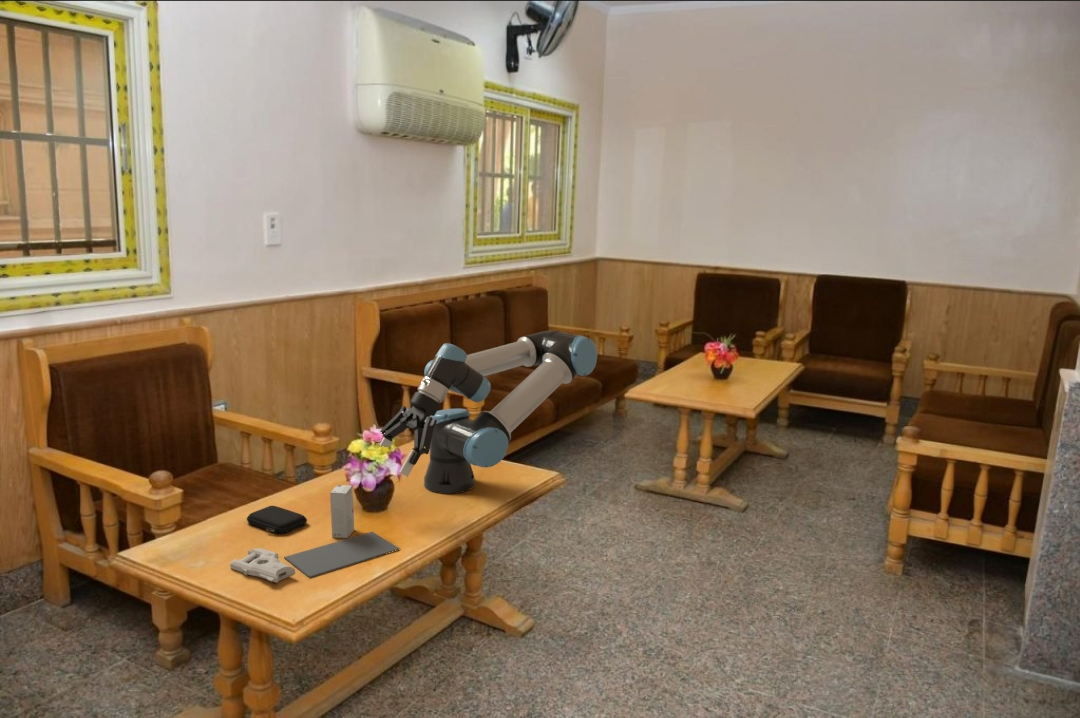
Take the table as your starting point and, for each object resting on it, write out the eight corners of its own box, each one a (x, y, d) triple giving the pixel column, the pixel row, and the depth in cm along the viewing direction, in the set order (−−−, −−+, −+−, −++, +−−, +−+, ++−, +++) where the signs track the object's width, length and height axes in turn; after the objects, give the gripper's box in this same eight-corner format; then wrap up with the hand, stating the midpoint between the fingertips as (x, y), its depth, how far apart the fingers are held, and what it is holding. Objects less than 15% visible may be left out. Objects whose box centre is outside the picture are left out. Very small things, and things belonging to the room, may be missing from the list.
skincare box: (348, 538, 212) (347, 493, 210) (330, 537, 213) (329, 492, 210) (355, 529, 218) (354, 485, 216) (338, 528, 219) (336, 484, 216)
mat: (372, 532, 216) (372, 531, 216) (399, 549, 207) (399, 548, 207) (284, 558, 200) (284, 556, 200) (309, 578, 191) (309, 576, 191)
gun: (307, 558, 193) (272, 575, 185) (308, 572, 194) (273, 589, 186) (256, 542, 203) (220, 557, 195) (257, 555, 204) (222, 571, 196)
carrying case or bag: (240, 525, 219) (278, 539, 212) (239, 514, 219) (278, 528, 211) (272, 513, 228) (310, 525, 221) (272, 502, 228) (310, 514, 220)
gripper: (393, 381, 231) (354, 449, 227) (446, 400, 213) (405, 474, 208) (412, 394, 236) (374, 461, 231) (465, 413, 218) (425, 486, 213)
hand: (389, 467), depth 220 cm, fingers open, 13 cm apart
